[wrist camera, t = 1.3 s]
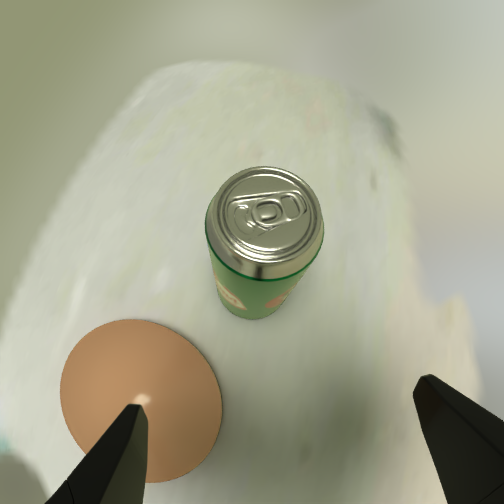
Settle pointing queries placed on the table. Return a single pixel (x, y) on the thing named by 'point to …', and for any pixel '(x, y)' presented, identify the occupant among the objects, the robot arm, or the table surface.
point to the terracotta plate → (143, 393)
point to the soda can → (262, 238)
